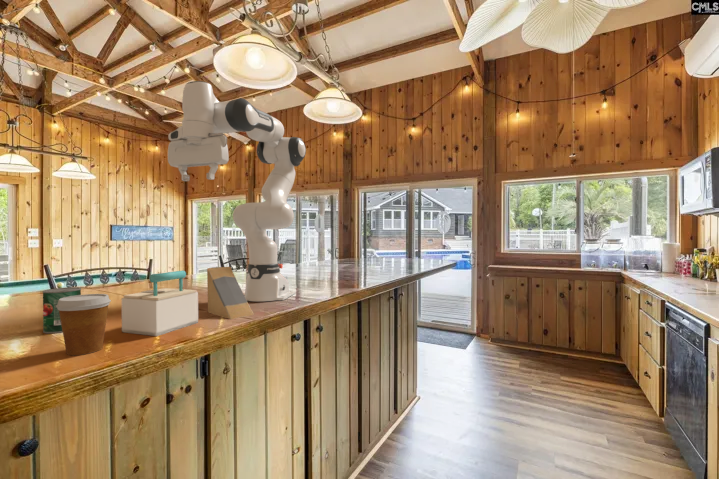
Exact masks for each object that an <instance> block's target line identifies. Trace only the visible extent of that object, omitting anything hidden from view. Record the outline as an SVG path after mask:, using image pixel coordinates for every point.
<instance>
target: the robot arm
mask: <svg viewBox="0 0 719 479" xmlns="http://www.w3.org/2000/svg"><path fill="white" fill-rule="evenodd" d="M181 101H182V102H181V105H182V106H181V107H182V112H183V119H182V120H181V121H182V122H181V126H179V127H178V128H176V129H175V130H173V131H171V132H169V133H168V138H167V139H168V140H169V141H170V142H169V143H168V146H167V147H168V148H167V162H168V164H169V166H170V167H174V168H177V169H178V172H179V174H180V176H181V181H183V182H190V180H191V179H190V177H191V176H190V175H189V174H188V173H187V171H188V168H191V167H206V166H208V167H209V170H208V172H206V179H207V180H209V181H210V180H215V177H216V176H215V174H216V172H217V170H219V165H227V164H228V162H229V160H230V158H229V157H230V156H229V148H228V137H227V135H226V134H232V133H240V132H241V133H242V132H243V133H246V135H247V137H248V138H249V139H251V140H252V141H256V142H258V143H257V147H256V155H257V157H258V159H259V161H260V162H261V163H262V164H266V165H272V164H274V167H273V168H272V170H271V171H270V173H269V175H268V176H267V178H266V180H265V182H264V184H263V185H262V187H261V196H262V198H263V200H264V201H262V202H259V201H258V202H246V203H242V204H239V205H236V207H235V209H234V210H233V213H232V218H233V223H234V224H235V226H236V227H238V228H239V229H240V230H241V231H242V233H243V234H244V236H245V238H246V242H247V245H248V246H247V247H248V264H247V273H248V276H247V277H246V280H245V290H244V291H245V292H244V296H245V298H246V300H247V302H272V301H273V302H274V301H285V300H286V299H288V298H290V297H292V296H293V295H295V294H296V293H295V291H293V290H290V284H289V280H288V279H287V278H286V277H284V275H283V274H281V269H283V263H278V245H277V243H276V242H275V241H274V240H273V239H271V238H270V237H269V235H268V234H267V230H282V229H287V228H290V226H291V225H292V223H293V222H294V218H295V214H294V210H293V208H292V206H291V205H290V204H289V203H288V202H287V201H288V198H289V195H290V193H291V190H292V189H293V186H294V183H295V179H296V170H295V167H299V166H300V164H301V163H302V161H304V158H305V157H306V154H307V148H306V144H305V142H304V140H303V138H300V137H297V136H291V137H287V136H284V135H285V127H284V125H283V123H282V122H281V121H280V120H279V119H277V118H276V117H274V116H272V115H270V114H269V113H267V112H264V111H262V110H260V109H258V108H256V107H255V106H253V104H251V103H250V102H249V100H247V99H245V98H235V99H232V100H225V101H219V100H218V98H217V97H216V96H215V94H214V90H213V86H212V84H210V83H209V82H206V81H200V80H199V81H198V80H193V81H189V82H186V83H185V85H184V88H183V90H182V100H181Z"/></svg>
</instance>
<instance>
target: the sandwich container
mask: <svg viewBox="0 0 719 479" xmlns="http://www.w3.org/2000/svg"><path fill="white" fill-rule="evenodd" d="M206 272H207V273H206V276H207V281H206V283H207V287H206V288H207V313H208V314H209V313H210V314H212V315H215V316H219V317H222V318H225V319H228V320H235V319H240V318H245V317H250V316H254V315H255V314H254V312H253V310H252V309H251V306H250V304H249V303H248V302H249V301H247V300H246V298H245V296H244V295H245V293H243V291H242V290H243V289H242V288H241V286H240V284H239V282H238V280H237V278H236V276H235V274H234V271H233V269H232V267H231V266H217V267H208V268H207V269H206Z"/></svg>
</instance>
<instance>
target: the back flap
mask: <svg viewBox="0 0 719 479" xmlns="http://www.w3.org/2000/svg"><path fill="white" fill-rule="evenodd" d="M175 290H179V288H170V287H169V288H167V287H164V288H163V287H162V288H157V294H159V293H164V292H169V291H175ZM148 295H153V289H149V290H143V291H140V292H135V293H129V294H125V295H123V297H122V298H134V299H141V298H142V297H143V296H148Z"/></svg>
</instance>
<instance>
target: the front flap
mask: <svg viewBox="0 0 719 479" xmlns="http://www.w3.org/2000/svg"><path fill="white" fill-rule="evenodd" d="M186 277H187V272H186V271H185V270H176V271H167V272H159V273H153V274H150V275H149V278H148V279H149V282H151V284H152V285H153V286H152V287H153V289H152V290H153V295H148V296H143V297H142V299H147V300H162V299H167V298H172V297H176V296H181V295H186V294H191V293H195V292H198V291H197V289H188V288H187V289H185V288H184V287H183V286H184V285H183V284H184V283H183V281H184V279H185V278H186ZM177 279H178V289H179V290H175V291H169V292H164V293H159V294H157V289H158V283H159V282H166V281H174V280H177ZM183 288H184V289H183Z"/></svg>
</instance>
